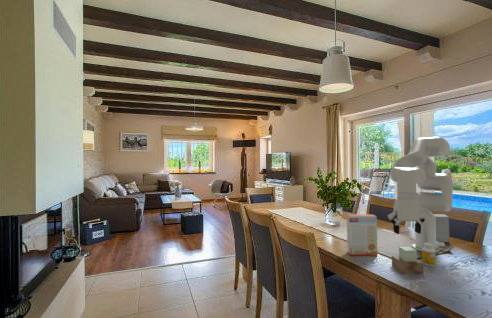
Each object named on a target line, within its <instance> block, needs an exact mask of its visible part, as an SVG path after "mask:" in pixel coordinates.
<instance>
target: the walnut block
mask: <svg viewBox="0 0 492 318" xmlns="http://www.w3.org/2000/svg"><path fill="white" fill-rule="evenodd" d="M391 267H393V268H395V269H396V270H397V271H398V272H400V273H401V274H402V275H424V269H425V268H424V264H423V263H422V260H419V259H417V262H405V261H404V260H402V259H401V258H399V255H391Z"/></svg>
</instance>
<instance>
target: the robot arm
mask: <svg viewBox="0 0 492 318" xmlns="http://www.w3.org/2000/svg"><path fill="white" fill-rule="evenodd" d="M450 151H451V146H450V143H449V142H448V140H446V138H444V137H442V136H431V137H429V136H427V137H418V138H416V139H414V140H413V141H412V144H411V146H410V149H409V151H408V153H407V154H405V155H403V156H401V157H400V158H398V159H397V160H395V162H394V163H393V166H392V168H391V170H390V179H391V180H392V182H394V183H396V192H397V193H396V195H397V198H396V197H395V198H394V203H393V211H392V212H391V213H389V214H387V218H388V220H389V222H391V223H392V225H393V230H392V231H393V232H394V234H397V235H399V234H400V225H399V224H400V223H401V222H414V232H415V233H414V235H415V237H414V239H415V243H412V245H411V248H413V249H415V250H417V251H419V252H422V248H423V247H424V243H432V244H434V249H435V251H436V253H437V254H438V253H439V252H440V248H439V247H445V246H446V244H445V243H446V242H436V219H435V216H434V215H433V214H434V213H433V212H432V211H436V212H446V213H447V212H450V211H451V210H452V208H453V194H454V193H453V192H454V190H453V187H454V183H453V178H452V177H451V175H450V174H447V173H437V163H435V161H434V160H433V159H431V157H432V158H433V157H435V158H436V157H437V158H440V157H443V158H444V157H446V156H449V154H450ZM417 187H418V189H420V190H422V191H420V192H417ZM428 191H430V192H428ZM431 191H433V192H431ZM434 191H437V192H434ZM438 192H439V193H438ZM440 192H441V193H440Z"/></svg>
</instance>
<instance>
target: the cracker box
mask: <svg viewBox="0 0 492 318" xmlns="http://www.w3.org/2000/svg"><path fill="white" fill-rule="evenodd" d="M346 243H347V245H346V246H347V247H346V248H347V249H346V250H347V253H348V254H349V256H364V257H366V256H369V257H377V256H378V217H377V216H376V214H373V213H372V214H370V213H369V214H367V213H366V214H365V213H363V214H361V213H360V214H358V213H356V214H355V213H351V214H350V213H347V214H346Z"/></svg>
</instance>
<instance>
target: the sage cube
mask: <svg viewBox="0 0 492 318" xmlns="http://www.w3.org/2000/svg"><path fill="white" fill-rule="evenodd" d="M417 251H418V250H416V249H414V248H413V247H412V246H398V256H399V258H401V259H402V260H404V261H405V262H417V260H418V259H417V258H418V257H417V254H418V253H417Z"/></svg>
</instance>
